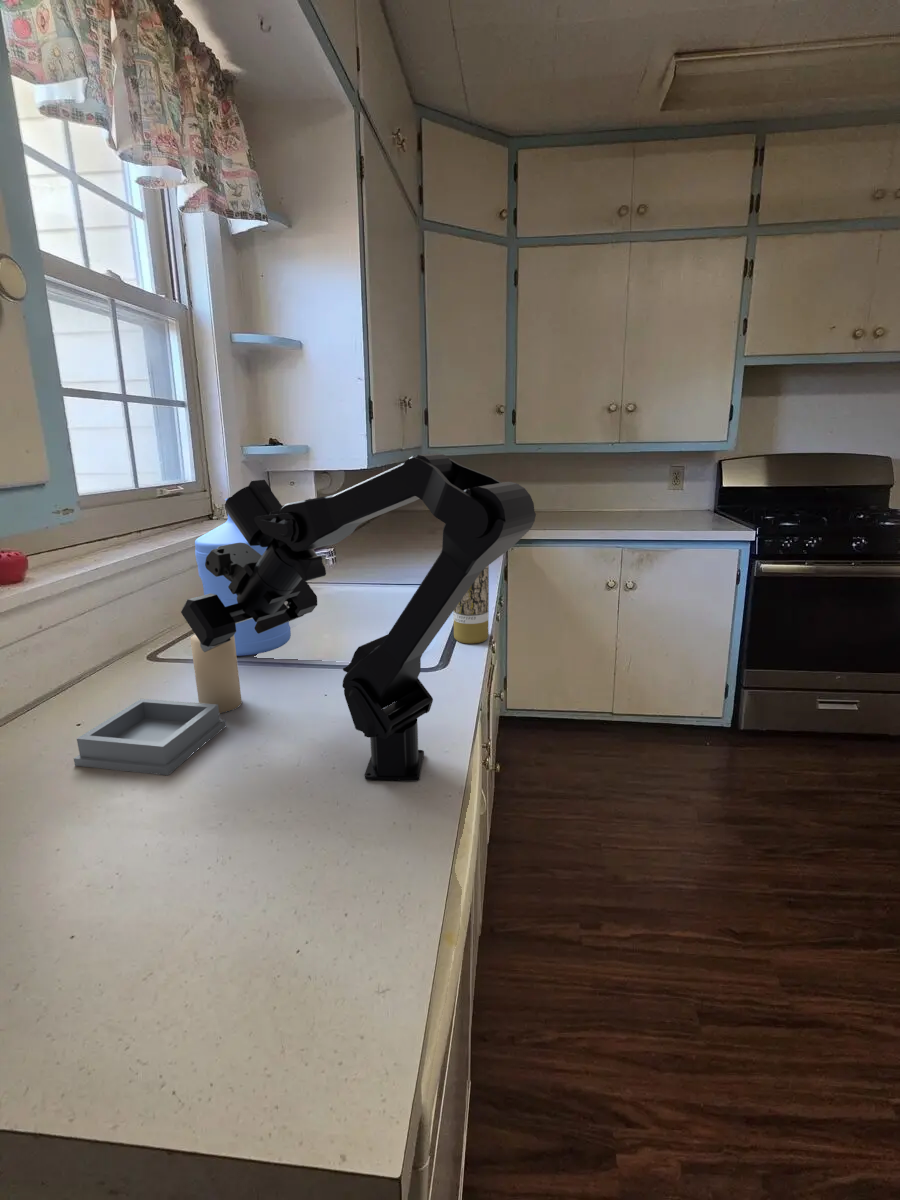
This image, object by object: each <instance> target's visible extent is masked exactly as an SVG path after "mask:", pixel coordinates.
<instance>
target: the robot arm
mask: <svg viewBox="0 0 900 1200" xmlns="http://www.w3.org/2000/svg"><path fill="white" fill-rule="evenodd" d="M226 499H227V498H226ZM418 500H421V501H422V502H423V503H424V505H425V506H426V508H427V509H428V510H429V511H430V513H431V514H432V515H433V517H434V518H436V519H438V520H439V521H440V522H442V523H443V524H444V526H443V529H442V542H441V543H442V547H441V551H440V553H439V555H438V556H437V559H436V560H435V561H434V563H433V565H432V566H431V567H430V569H429V570H428V572H427V573H426V575H425V576H424V578H423V580H422V581H421V583H420V584H419V586H418V587H417V589H416V591H414V594H413V595H412V597H411V598H410V600H409V602H407V604H406V606H405V608H404V609H403V610H402V612H401V614H400V615H399V617H398V618H397V619H396V622H394V624H393V625H392V628H391V629H390V630H389V633H387V634H385V635H383V636H381V637H379V638H376V639H373V640H371V641H370V642H367V643H365V644H361V645H359V646H358V647H357V648H356V650H355V651H354V653H353V656H352V657H351V661H350V662H349V663H348V664H347V666H345V667H343V668H342V671H343V672H345V673H346V674H345V675H344V677H343V680H342V685H341V686H342V688H343V693H344V694H343V695H344V699H345V701H346V704H347V707H348V711H349V713H350V717H351V720H352V723H353V724H354V729H355V730H356V731H358V732H361V733H363V734H364V737H366V738H370V739H369V741H370V755H371V756H370V758H369V761H368V763H367V766H366V769H365V772H364V779H365V780H368V781H369V780H371V781H419V780H420V778H421V772H422V769H423V768H422V767H423V763H424V758H425V750H423V749H419V735H418V733H419V729H418V728H419V727H418V718H419V717H422V716H423V715H425V714H428V713H429V712H430V711H431V709H432V706H433V705H432V704H433V702H434V699H433V696H432V695H431V694H430V693H429V691H428V690H427V688H426V687H425V686H424V685H423V683H422V682H421V680H420V679H419V676H420V674H421V671H422V669H421V661H422V660H421V659H422V656H423V654H424V653H425V651H426V650H427V649H428V648H429V646H430V645H431V643H432V642H433V640H434V639H435V637H436V636H437V634H438V633H439V632H440V630H441V629H442V628H443V626H444V624H446V622H447V620H448V619H449V618H450V617H451V615H452V614H453V611H454V609H455V608H456V606H457V605H458V604H459V602H460V601H461V599H462V598H463V597H464V595H465V594H466V592H467V591H468V590H469V588H470V587H471V585H472V584H473V583H474V581H475V580H476V578H477V577H478V576H479V574H480V573H481V571H482V570H483V569H484V568H486V567H487V566H488V565H491V564H492V563H494V562H495V561H496V560H497V559H498V558H500V557H501V556H503V555H504V554H505V553H506V552H508V551H509V550H510V549H511V548H513V547H514V546H515V545H516V544H517V543H518V542H519V541H520V540H521V539H522V538H523V537H524V536H525V535H526V534H528V533H529V531H530V530H531V529H532V528H533V525H534V524H535V520H536V517H537V516H536V515H537V513H536V511H535V503H534V501H533V499H532V496H531V494H530V493H529V492H528V490H526V488H525V487H523V486H522V485H520V484H519V483H516V482H512V481H506V482H501V481H500V480H498V479H497V478H495V477H493V476H491V475H488V474H486V473H483V472H481V471H478V470H476V469H473V468H470V467H468V466H465V465H463V464H460V462H457V461H455V460H454V459H452V458H450V457H449V456H446V455H445V454H443V453H439V452H437V453H426V454H416V455H411V457H409V458H408V459H407V460H405V461H404V462H402V463H400V464H398V465H397V466H394V467H392V468H390V469H387V470H385V471H383V472H381V473H379V474H377V475H373V476H372V477H370V478H368V479H366V480H363V481H361V482H359V483H357V484H354V485H352V486H350V487H348V488H346V489H343V490H341V491H339V492H337V493H335V494H331V495H325V496H321V497H316V498H309V499H302V500H299V501H298V500H297V501H293V502H292V501H291V502H287V503H285V504H284V505H282V504H281V503H280V501H279V500H278V498H277V497H276V496H275V494H274V492H273V490H272V489H271V486H270V485H269V483H268V482H267V480H265V479H255V480H251V481H250V482H249V484H248V486H244V487H243V488H240V489H239V490H238V491H236V492H235V493H234V494H232V495H231V496H229V497H228V499H227V501H226V500H225V503H224V509H225V510H224V511H226V513H228V514H227V516H228V515H229V516H230V518H231V519H232V520H233V522H234V523H235V525H236V526H237V528H238V529H239V530H240V532H241V533H242V535H243V536H244V538H245V539H246V541H247V542H248V543H249V545H250V546H258V545H260V546H261V547H267V549H266V550H265V552H264V553H263V555H260V554H259V553H258V552H256V551H255V550H254V549H253V548H251V547H250V546H249V545H247V544H245V543H234V544H229V545H224V546H219V547H218V548H217V549H213V550H212V551H211V552H210V553H209V554H208V555H207V557H206V562H205V566H206V569H207V570H209V571H210V572H211V573H212V574H213V575H215V576H216V577H218V576H222V575H223V576H224V577H225V578H227V579H228V580H229V581H231V583H230V585H229V586H228V588H229V589H230V591H231V592H232V594H237V602H238V603H237V604H234V605H230V606H226V607H225V606H224V604H223V603H222V602H221V600H220V599H219V597H218V596H217V595H216V594H211V593H210V594H206V595H204V594H203V595H199V596H195V597H190V598H188V599H186V601H185V603H184V605H183V606H182V607H181V608H182V609H181V610H180V614H181V615H182V616H183V618H184V620H185V621H186V623H187V624H188V625H189V628H191V630H192V631H193V633H194V635H196V636H197V638H198V639H199V641H200V647H201V648H202V650H203V651H204V652H207V651H209V650H211V649H213V648H216V647H218V646H220V645H222V644H224V643H226V642H228V641H230V640H231V639H230V638H231V637H232V636H233V635H234V634H235V632H236V625H235V624H237V623H240V622H243V621H246V620H249V619H254V621H255V622H257V623H256V625H255V630H256V632H257V633H258V634H259V633H262V632H264V631H267V630H269V629H272V628H274V627H276V626H279V625H282V624H284V623H286V622H289V623H290V622H291V621H294V620H297V619H298V618H302V617H304V616H305V615H306V614H310V613H313V611H315V608H316V607H317V606H318V596H317V595H316V593H315V592H314V590H313V589H312V588H311V586H310V584H309V583H308V582H307V581H312V580H315V579H319V578H323V577H325V576H326V575H327V570H326V567H325V565H324V563H323V557H322V556H321V555H318V554H317V553H316V551H315V550H314V549H318V548H321V547H326V546H331V545H335V544H338V543H340V542H341V541H343V540H344V539H346V538H347V537H349V536H350V535H351V534H353V533H354V532H355V530H356V529H357V527H358V526H359V525H361V524H362V523H364V522H366V521H369V520H371V519H373V518H376V517H378V516H381V515H383V514H386V513H389V512H391V511H393V510H395V509H398V508H400V507H403V506H406V505H408V504H411V503H413V502H416V501H418Z"/></svg>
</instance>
